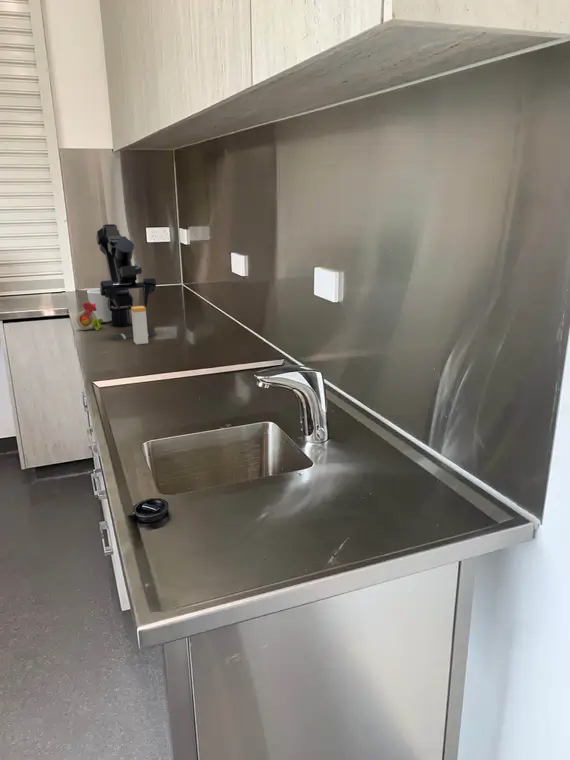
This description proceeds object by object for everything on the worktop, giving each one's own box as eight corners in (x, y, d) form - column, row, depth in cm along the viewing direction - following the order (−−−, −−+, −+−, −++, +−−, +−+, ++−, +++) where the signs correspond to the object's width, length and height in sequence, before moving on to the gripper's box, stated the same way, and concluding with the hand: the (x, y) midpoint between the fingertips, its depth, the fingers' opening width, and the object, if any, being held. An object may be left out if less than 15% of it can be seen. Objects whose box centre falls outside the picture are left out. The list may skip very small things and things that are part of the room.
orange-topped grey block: (134, 341, 204) (131, 306, 200) (145, 340, 205) (142, 305, 202) (136, 344, 200) (133, 308, 196) (148, 343, 202) (145, 307, 198)
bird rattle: (84, 338, 220) (107, 326, 221) (69, 311, 216) (91, 300, 217) (85, 334, 226) (106, 323, 227) (69, 308, 222) (91, 297, 223)
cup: (119, 319, 240) (116, 288, 236) (110, 325, 231) (107, 292, 227) (96, 319, 241) (92, 288, 237) (86, 324, 232) (82, 292, 228)
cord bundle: (116, 341, 206) (115, 337, 206) (113, 338, 211) (113, 334, 210) (157, 337, 213) (157, 333, 212) (154, 334, 217) (153, 330, 217)
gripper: (98, 257, 198) (106, 297, 193) (153, 254, 205) (162, 293, 200) (96, 275, 208) (104, 314, 202) (149, 272, 215) (158, 309, 210)
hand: (132, 307), depth 204 cm, fingers open, 9 cm apart
